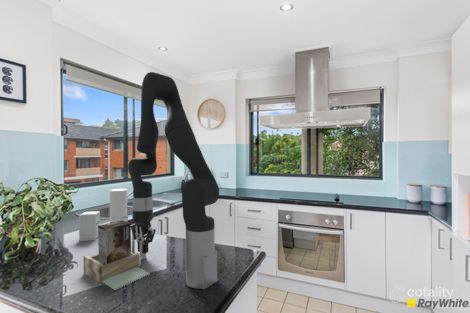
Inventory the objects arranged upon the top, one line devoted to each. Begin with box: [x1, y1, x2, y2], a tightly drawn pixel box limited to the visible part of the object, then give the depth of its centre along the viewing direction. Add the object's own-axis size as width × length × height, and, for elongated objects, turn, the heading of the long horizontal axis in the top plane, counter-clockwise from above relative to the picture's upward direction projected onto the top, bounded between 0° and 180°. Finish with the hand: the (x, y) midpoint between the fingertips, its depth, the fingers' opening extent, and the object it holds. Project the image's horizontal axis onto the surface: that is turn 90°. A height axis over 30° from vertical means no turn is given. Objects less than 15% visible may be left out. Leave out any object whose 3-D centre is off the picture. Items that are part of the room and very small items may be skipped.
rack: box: [83, 252, 140, 284], centre depth 88 cm, size 12×14×6 cm
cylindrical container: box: [109, 188, 128, 223], centre depth 114 cm, size 7×7×25 cm
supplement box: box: [78, 210, 101, 242], centre depth 123 cm, size 7×7×13 cm
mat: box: [102, 267, 151, 291], centre depth 82 cm, size 8×12×1 cm, turn 143°
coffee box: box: [97, 220, 132, 265], centre depth 89 cm, size 9×6×16 cm
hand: (142, 251), depth 98 cm, fingers closed on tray, 2 cm apart
